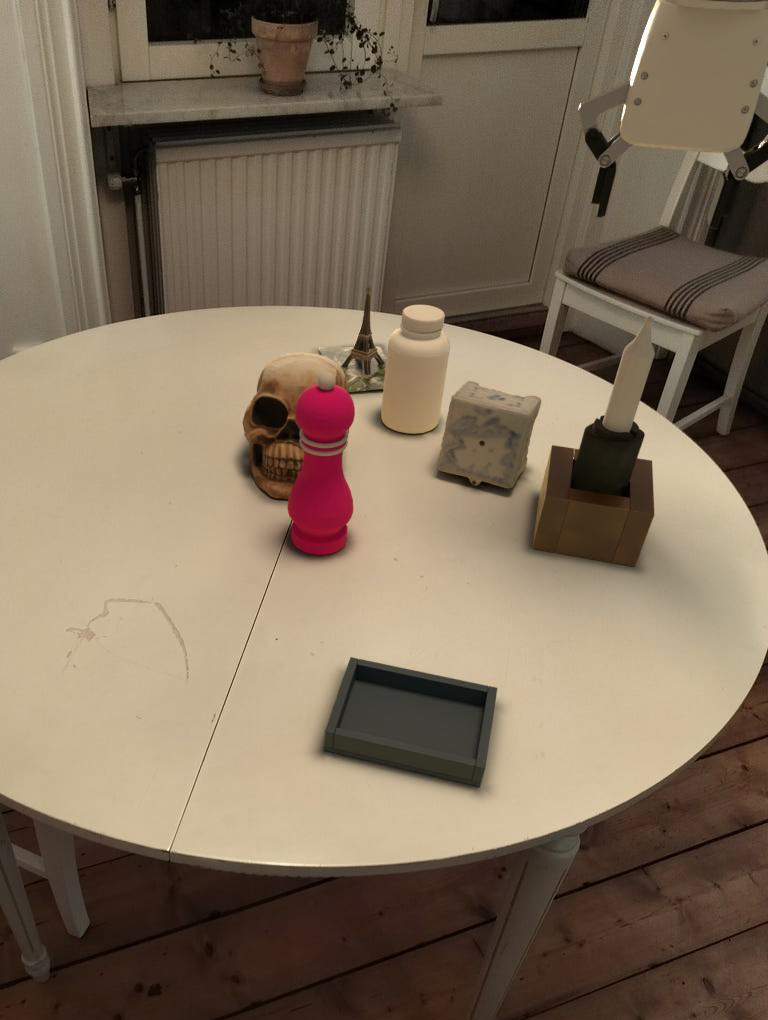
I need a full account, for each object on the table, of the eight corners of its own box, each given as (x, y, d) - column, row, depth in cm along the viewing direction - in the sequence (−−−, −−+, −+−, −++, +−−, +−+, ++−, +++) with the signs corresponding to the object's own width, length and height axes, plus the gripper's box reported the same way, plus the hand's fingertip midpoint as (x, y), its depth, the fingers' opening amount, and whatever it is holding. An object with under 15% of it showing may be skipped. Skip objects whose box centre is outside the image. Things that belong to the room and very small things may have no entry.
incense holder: (527, 465, 110) (545, 389, 103) (510, 498, 104) (528, 420, 97) (454, 447, 113) (466, 372, 106) (433, 477, 107) (445, 401, 100)
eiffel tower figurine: (316, 350, 133) (319, 261, 124) (379, 346, 135) (387, 258, 126) (336, 395, 123) (341, 302, 114) (405, 391, 124) (415, 298, 115)
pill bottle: (448, 416, 119) (465, 308, 108) (423, 441, 114) (438, 330, 103) (396, 401, 122) (408, 295, 111) (370, 425, 117) (379, 315, 106)
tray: (492, 706, 79) (497, 687, 77) (480, 787, 72) (485, 768, 71) (348, 675, 82) (350, 656, 80) (323, 750, 75) (324, 731, 73)
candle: (589, 548, 97) (658, 332, 80) (553, 527, 100) (611, 314, 83) (616, 531, 99) (688, 318, 82) (580, 511, 102) (642, 302, 85)
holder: (634, 511, 102) (652, 460, 98) (635, 567, 95) (654, 514, 90) (539, 495, 105) (552, 444, 100) (531, 548, 97) (545, 496, 92)
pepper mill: (278, 527, 99) (279, 362, 85) (335, 515, 101) (346, 352, 87) (300, 564, 94) (306, 395, 80) (361, 550, 96) (376, 383, 82)
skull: (276, 505, 102) (274, 395, 94) (216, 451, 114) (210, 350, 106) (387, 477, 108) (394, 372, 100) (318, 429, 120) (320, 332, 112)
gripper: (837, -19, 67) (753, 216, 78) (608, -30, 70) (559, 197, 82) (856, -8, 61) (762, 242, 73) (606, -20, 65) (555, 221, 76)
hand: (655, 218), depth 77 cm, fingers open, 9 cm apart
